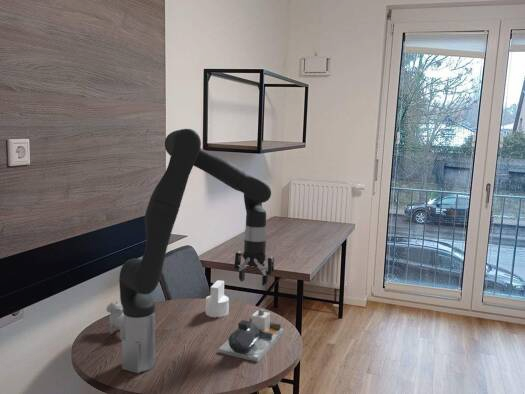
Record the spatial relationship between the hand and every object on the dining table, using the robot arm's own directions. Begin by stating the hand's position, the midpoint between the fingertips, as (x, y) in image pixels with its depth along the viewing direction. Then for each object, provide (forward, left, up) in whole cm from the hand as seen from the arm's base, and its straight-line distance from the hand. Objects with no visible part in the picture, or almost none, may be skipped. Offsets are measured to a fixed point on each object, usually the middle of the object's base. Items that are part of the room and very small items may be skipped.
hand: (253, 282), depth 169 cm
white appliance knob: (+11, +20, -19) cm, 30 cm away
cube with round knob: (+1, -3, -18) cm, 18 cm away
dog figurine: (-21, +42, -19) cm, 51 cm away
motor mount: (-6, -3, -19) cm, 20 cm away
